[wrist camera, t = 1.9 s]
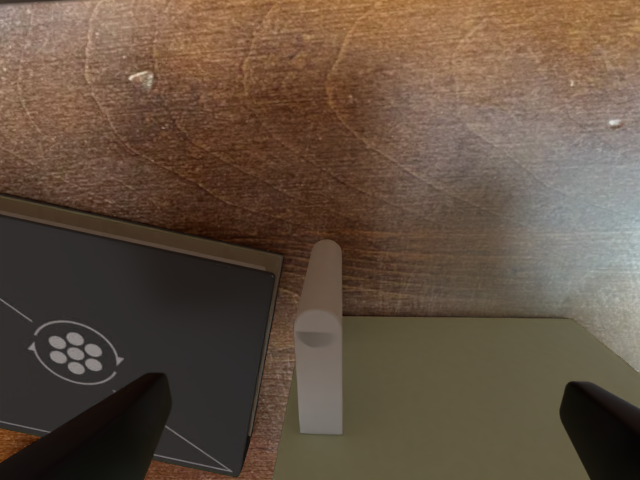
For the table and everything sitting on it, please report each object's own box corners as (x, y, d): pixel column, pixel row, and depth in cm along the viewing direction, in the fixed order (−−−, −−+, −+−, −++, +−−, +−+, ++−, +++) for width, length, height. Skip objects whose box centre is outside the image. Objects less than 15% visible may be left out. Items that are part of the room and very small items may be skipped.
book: (-43, 377, 23) (-97, 411, 20) (-87, 173, 18) (-164, 181, 16) (251, 439, 23) (238, 481, 21) (285, 253, 19) (275, 275, 16)
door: (300, 232, 18) (252, 352, 8) (594, 230, 17) (937, 364, 7) (305, 329, 20) (271, 517, 10) (568, 333, 19) (808, 546, 9)
